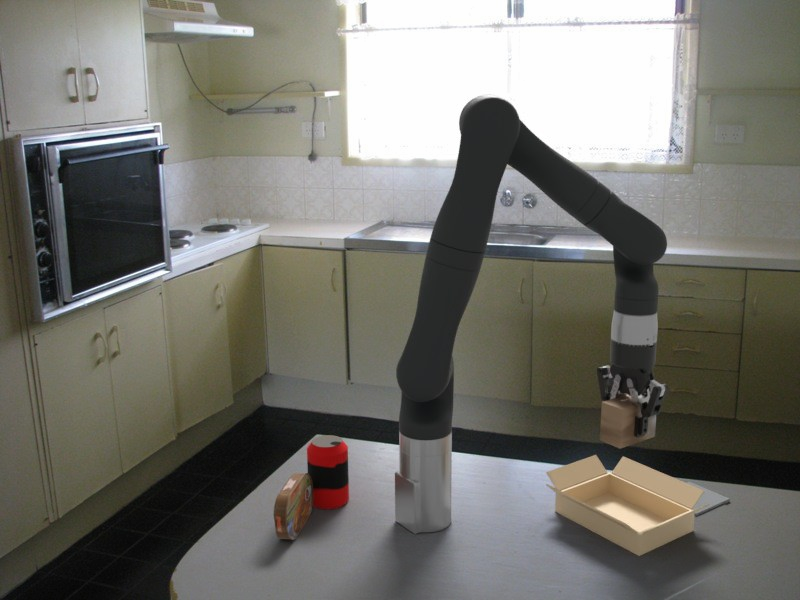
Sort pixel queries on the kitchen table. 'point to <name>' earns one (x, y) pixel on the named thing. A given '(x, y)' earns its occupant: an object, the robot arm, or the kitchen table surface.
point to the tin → (293, 506)
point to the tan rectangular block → (622, 422)
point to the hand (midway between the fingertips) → (628, 431)
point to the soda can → (328, 471)
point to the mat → (708, 500)
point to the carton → (625, 502)
